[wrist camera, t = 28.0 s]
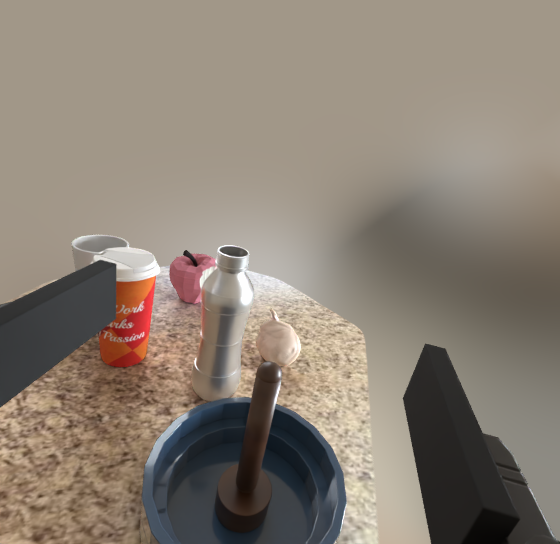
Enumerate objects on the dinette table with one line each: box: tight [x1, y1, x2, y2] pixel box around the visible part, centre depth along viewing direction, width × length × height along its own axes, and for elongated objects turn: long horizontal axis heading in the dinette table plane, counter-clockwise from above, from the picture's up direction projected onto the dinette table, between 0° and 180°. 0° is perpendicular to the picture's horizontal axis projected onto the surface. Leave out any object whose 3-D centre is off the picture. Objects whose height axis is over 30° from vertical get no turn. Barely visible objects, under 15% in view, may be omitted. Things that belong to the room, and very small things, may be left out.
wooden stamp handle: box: [215, 361, 282, 533], centre depth 30 cm, size 5×5×16 cm
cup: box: [71, 235, 129, 271], centre depth 57 cm, size 8×8×12 cm
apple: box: [170, 250, 217, 304], centre depth 66 cm, size 10×9×10 cm
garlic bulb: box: [256, 308, 301, 366], centre depth 54 cm, size 7×6×8 cm
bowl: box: [140, 397, 347, 544], centre depth 32 cm, size 18×18×6 cm
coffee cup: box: [91, 247, 160, 367], centre depth 48 cm, size 8×8×15 cm
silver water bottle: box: [191, 246, 254, 402], centre depth 43 cm, size 6×7×20 cm
